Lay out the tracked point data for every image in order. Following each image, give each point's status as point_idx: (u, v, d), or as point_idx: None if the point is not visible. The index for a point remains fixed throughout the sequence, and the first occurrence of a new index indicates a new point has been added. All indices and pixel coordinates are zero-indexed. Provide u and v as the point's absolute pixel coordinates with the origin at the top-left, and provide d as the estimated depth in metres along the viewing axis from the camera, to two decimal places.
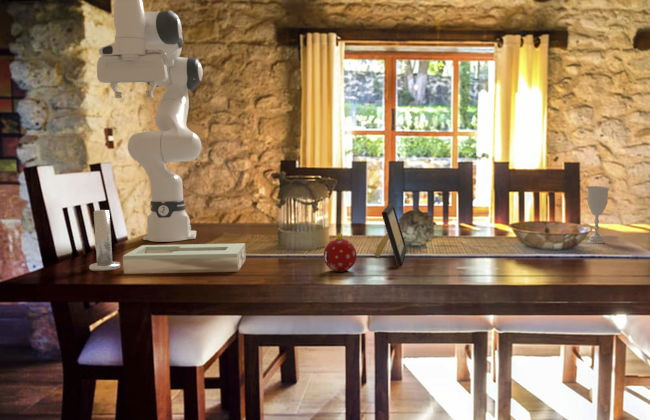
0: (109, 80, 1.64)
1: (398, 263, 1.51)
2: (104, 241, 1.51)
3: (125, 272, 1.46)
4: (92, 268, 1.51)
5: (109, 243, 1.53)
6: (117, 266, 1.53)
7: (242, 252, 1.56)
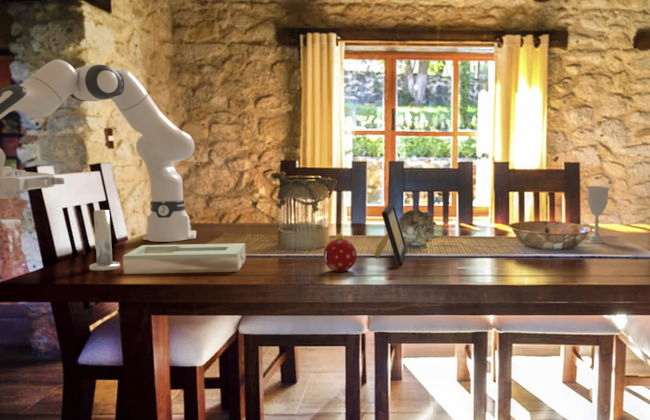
0: (48, 186, 1.58)
1: (398, 263, 1.51)
2: (104, 241, 1.51)
3: (125, 272, 1.46)
4: (92, 268, 1.51)
5: (109, 243, 1.53)
6: (117, 266, 1.53)
7: (242, 252, 1.56)
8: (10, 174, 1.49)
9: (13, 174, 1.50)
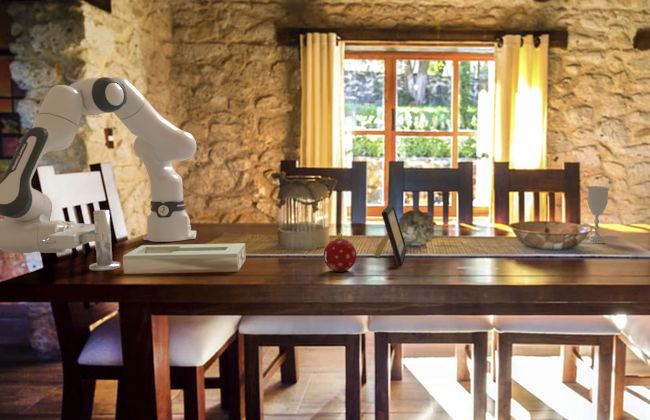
0: None
1: (398, 263, 1.51)
2: (104, 241, 1.51)
3: (125, 272, 1.46)
4: (92, 268, 1.51)
5: (109, 243, 1.53)
6: (117, 266, 1.53)
7: (242, 252, 1.56)
8: (62, 229, 1.51)
9: (65, 229, 1.51)
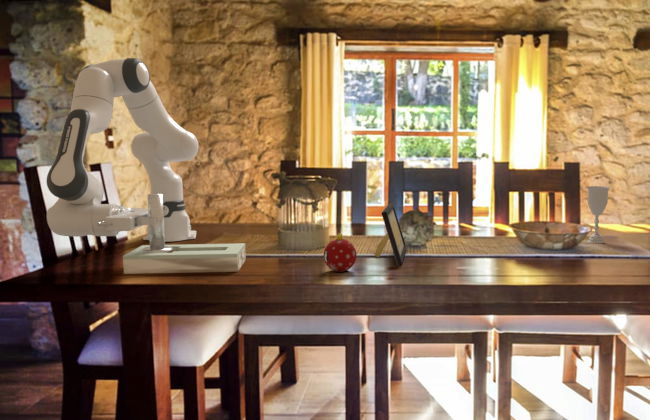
0: None
1: (398, 263, 1.51)
2: (158, 225, 1.51)
3: (125, 272, 1.46)
4: (146, 252, 1.50)
5: (162, 227, 1.52)
6: (170, 250, 1.52)
7: (242, 252, 1.56)
8: (116, 212, 1.50)
9: (119, 212, 1.51)
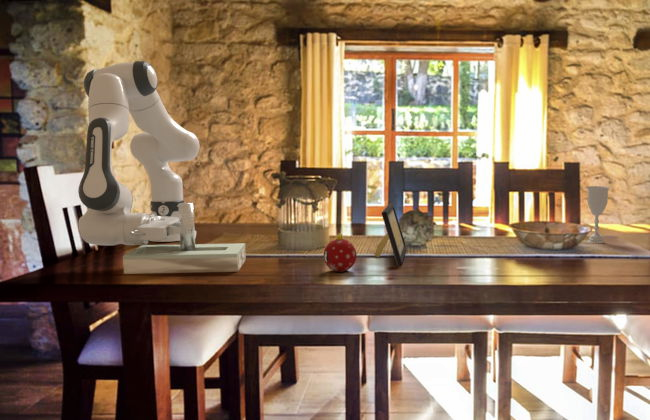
0: None
1: (398, 263, 1.51)
2: (189, 234, 1.51)
3: (125, 272, 1.46)
4: None
5: (193, 236, 1.53)
6: None
7: (242, 252, 1.56)
8: (148, 221, 1.51)
9: (150, 221, 1.51)
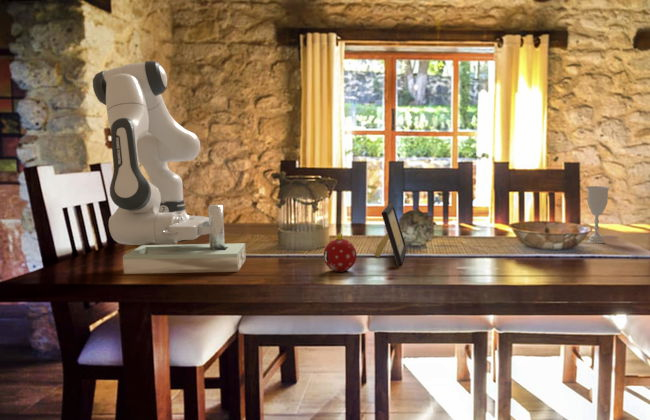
0: None
1: (398, 263, 1.51)
2: (219, 236, 1.52)
3: (125, 272, 1.46)
4: None
5: (223, 238, 1.53)
6: None
7: (242, 252, 1.56)
8: (178, 220, 1.51)
9: (180, 220, 1.51)
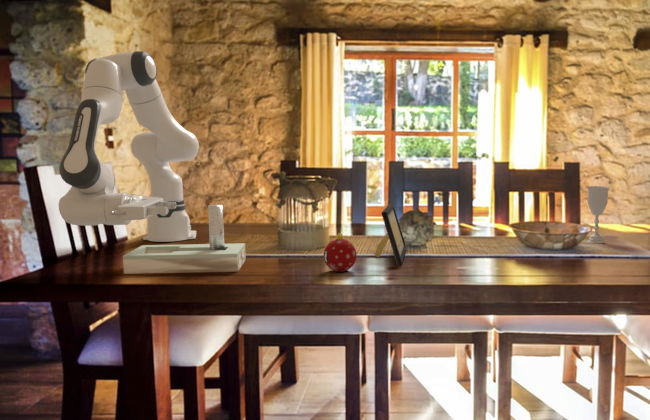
0: None
1: (398, 263, 1.51)
2: (219, 236, 1.52)
3: (125, 272, 1.46)
4: None
5: (223, 238, 1.53)
6: None
7: (242, 252, 1.56)
8: (128, 201, 1.50)
9: (131, 201, 1.51)
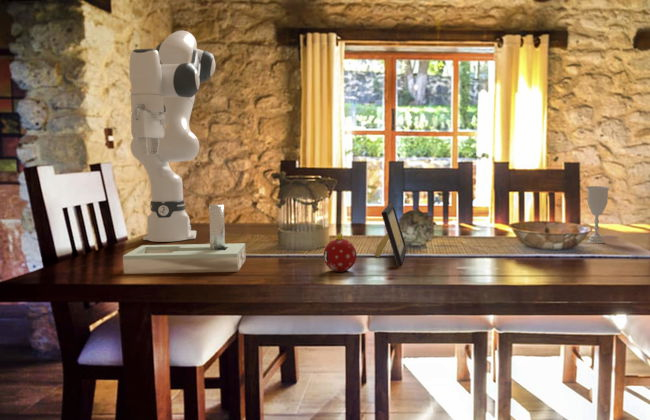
0: None
1: (398, 263, 1.51)
2: (219, 236, 1.52)
3: (125, 272, 1.46)
4: None
5: (223, 238, 1.53)
6: None
7: (242, 252, 1.56)
8: (153, 115, 1.57)
9: (154, 117, 1.58)
